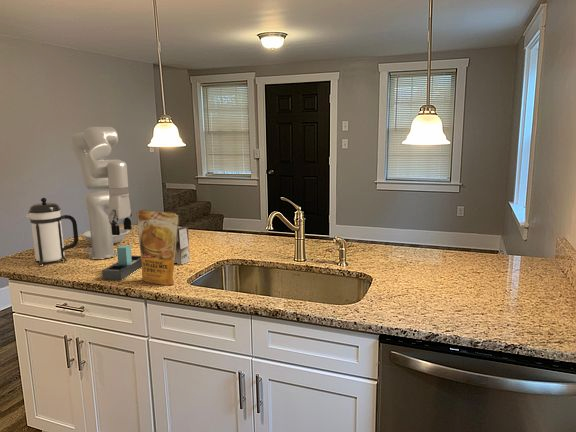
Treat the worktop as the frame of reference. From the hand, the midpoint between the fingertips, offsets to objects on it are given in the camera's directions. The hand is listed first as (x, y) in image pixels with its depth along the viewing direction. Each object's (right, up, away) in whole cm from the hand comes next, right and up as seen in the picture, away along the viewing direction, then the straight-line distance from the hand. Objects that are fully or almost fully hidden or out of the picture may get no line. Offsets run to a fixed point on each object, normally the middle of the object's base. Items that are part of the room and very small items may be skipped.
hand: (122, 232), depth 186 cm
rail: (0, -17, +3) cm, 17 cm away
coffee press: (-39, -15, +20) cm, 47 cm away
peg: (+1, -17, +3) cm, 17 cm away
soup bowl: (-28, -9, +53) cm, 60 cm away
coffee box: (+20, -14, +16) cm, 29 cm away
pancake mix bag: (+19, -19, -10) cm, 29 cm away
